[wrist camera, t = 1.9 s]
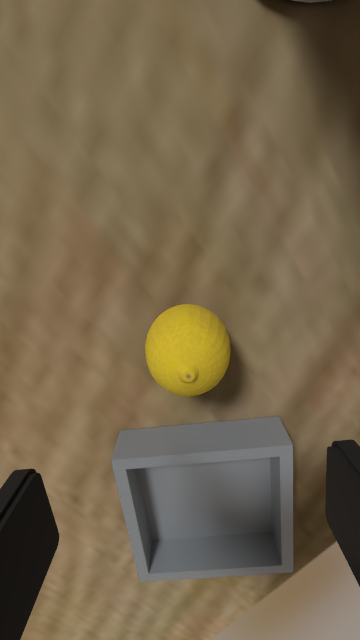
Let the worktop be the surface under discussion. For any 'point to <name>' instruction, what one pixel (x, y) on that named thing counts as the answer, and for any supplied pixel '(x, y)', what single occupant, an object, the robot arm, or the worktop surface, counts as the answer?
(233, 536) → the box
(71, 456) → the worktop surface
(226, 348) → the lemon
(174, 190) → the worktop surface
